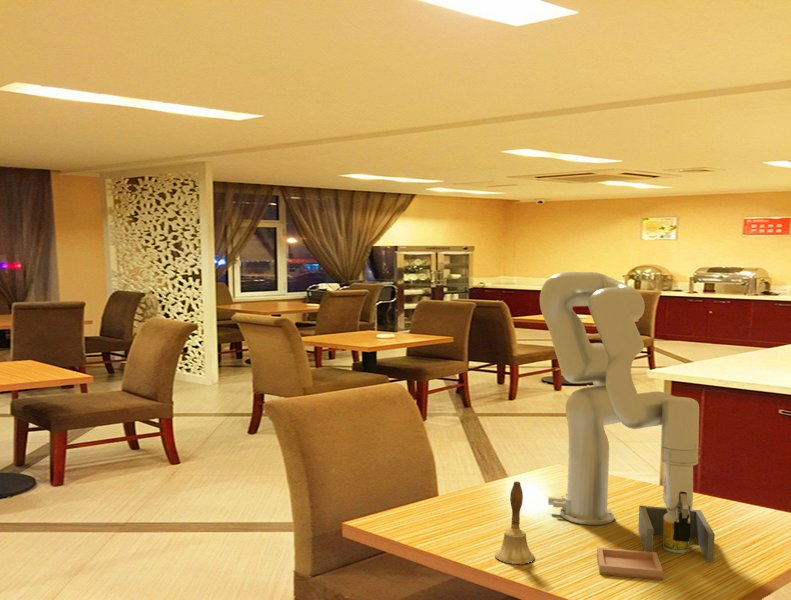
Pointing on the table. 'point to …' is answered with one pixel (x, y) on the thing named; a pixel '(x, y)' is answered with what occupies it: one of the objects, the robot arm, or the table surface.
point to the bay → (654, 525)
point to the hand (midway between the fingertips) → (678, 533)
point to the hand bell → (515, 534)
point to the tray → (629, 563)
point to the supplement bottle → (672, 534)
